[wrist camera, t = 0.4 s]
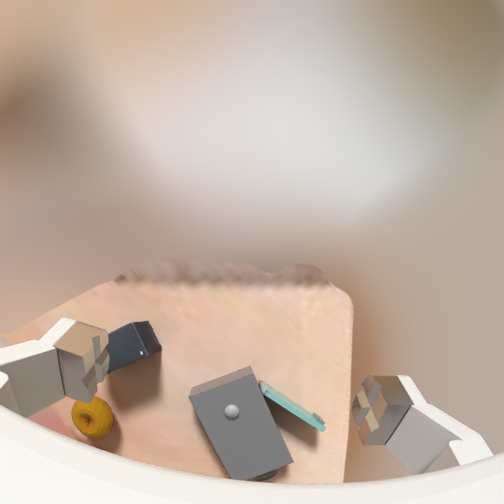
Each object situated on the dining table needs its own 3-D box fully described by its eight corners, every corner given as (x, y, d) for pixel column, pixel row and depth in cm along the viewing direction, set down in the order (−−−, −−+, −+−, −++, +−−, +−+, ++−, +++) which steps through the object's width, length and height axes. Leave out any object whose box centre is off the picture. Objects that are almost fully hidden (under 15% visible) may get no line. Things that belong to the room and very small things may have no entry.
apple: (123, 431, 54) (109, 447, 45) (86, 426, 53) (68, 440, 44) (118, 392, 55) (103, 404, 47) (81, 388, 55) (61, 397, 46)
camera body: (291, 456, 55) (299, 473, 48) (238, 476, 54) (239, 494, 46) (250, 365, 58) (253, 373, 51) (192, 387, 57) (188, 398, 49)
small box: (148, 318, 59) (132, 320, 48) (162, 348, 58) (150, 356, 48) (104, 339, 57) (82, 344, 47) (118, 368, 56) (99, 378, 46)
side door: (318, 415, 57) (328, 425, 51) (313, 420, 57) (322, 432, 50) (262, 377, 58) (266, 385, 51) (257, 383, 58) (260, 392, 51)
